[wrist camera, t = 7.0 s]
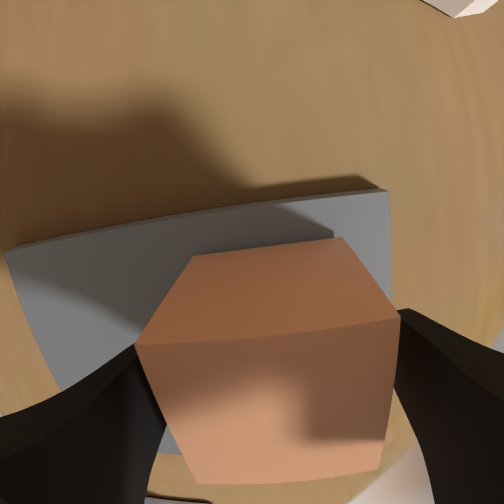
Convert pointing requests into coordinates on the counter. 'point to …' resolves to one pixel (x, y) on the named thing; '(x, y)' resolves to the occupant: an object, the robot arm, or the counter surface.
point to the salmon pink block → (274, 363)
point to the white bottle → (461, 6)
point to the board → (169, 269)
